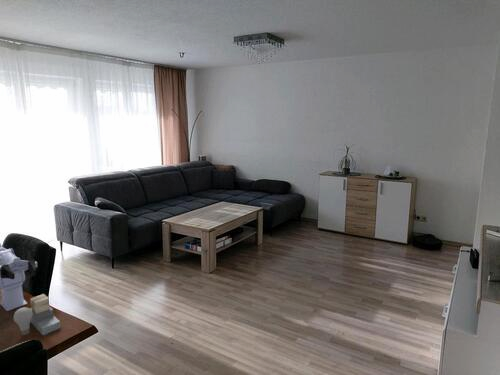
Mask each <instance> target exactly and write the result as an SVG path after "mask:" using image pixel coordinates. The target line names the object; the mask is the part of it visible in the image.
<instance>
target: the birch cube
mask: <svg viewBox="0 0 500 375" xmlns="http://www.w3.org/2000/svg"><path fill="white" fill-rule="evenodd" d="M29 299H30V300H29V301H30V308H32V311H33V312H34V313H35V314H36V315H37V314H39V313H42V312H44V311H47V310H50V307H51V306H50V299H49V297H48V296H47V295H46V294H45V293H42V294H40V295H37V296H34V297H31V298H29Z"/></svg>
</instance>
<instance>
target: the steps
mask: <svg viewBox="0 0 500 375" xmlns="http://www.w3.org/2000/svg"><path fill="white" fill-rule="evenodd" d="M28 308H29V307H28ZM29 309H31V310H32V308H31V307H30V308H29ZM32 313H33V316H32V319H31V321H30V323H31V325H32V326H34V328H35V329H36V330H37V331H38V332H39V333H40V334H41V335H42V336H45V335H47V334H50V333H51V332H54V331H57V330H59V329H61V326H62V324H61V321H60V320H59V319H58V318H57V317H56V316H55V314H54V309H53V308H52V307H51V306H50V310H47V311H44V312H42V313H39V314H37V315H36V314H35V313H34V312H33V311H32Z"/></svg>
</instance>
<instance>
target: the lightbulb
mask: <svg viewBox="0 0 500 375" xmlns="http://www.w3.org/2000/svg"><path fill="white" fill-rule="evenodd" d="M32 316H33V313H32V310H31V309H29V307H26V306H25V307H19V308H18V309H16V311H15V312H14V313H13V320H14V323H16V324H17V325H18V326H19V330H20V332H21V335H22V336H27V335H29V334H30V326H31V324H30V323H31V322H30V321H31V319H32Z"/></svg>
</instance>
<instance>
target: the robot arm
mask: <svg viewBox="0 0 500 375" xmlns="http://www.w3.org/2000/svg"><path fill="white" fill-rule="evenodd" d="M36 268H38V262H37V261H36V260H35V259H29V260H23V259H21V258H20V257H19V256H18V257H17V256H16V254H15V250H14V249H13V248H12V247H10V248H8V249H7V248H5V247H4V246H2V243H0V293H1V299H2V301H1V302H0V305H1V307H2V308H4V310H5V311H6V312H9V311H12V310H13V309H17V308H21V307H22V306H25V305H28V301H26V299H24V293H23V292H24V291H23V286H22V285H24V283H23V282H25V280H26V274H25V272H26V271H27V270H28V274H31V275H33V276H36V275H37V269H36Z"/></svg>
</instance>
